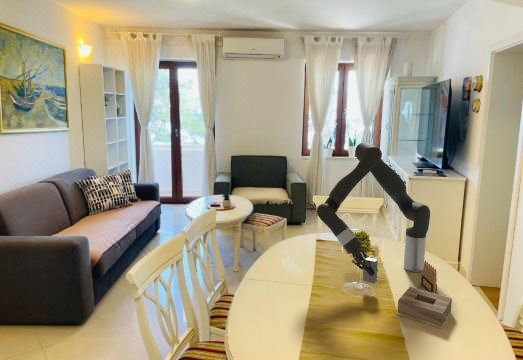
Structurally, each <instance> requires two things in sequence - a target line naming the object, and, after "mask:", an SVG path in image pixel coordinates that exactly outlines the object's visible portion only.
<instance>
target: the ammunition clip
mask: <svg viewBox="0 0 523 360" xmlns="http://www.w3.org/2000/svg"><path fill="white" fill-rule="evenodd" d="M437 274H438V273H437V268H435V266H433V265H432V264H430V263H429V262H428V261H427V260H425V259H424V267H423V271H422V274H421V279H420V280H421V281H420V286H421V287H422V288H423V289H424V290H425V291H428V292H431V293H435V294H437V291H438V284H437V279H438V278H437Z"/></svg>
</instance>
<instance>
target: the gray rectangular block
mask: <svg viewBox="0 0 523 360" xmlns="http://www.w3.org/2000/svg"><path fill="white" fill-rule="evenodd" d="M378 261H379V260H378V259H377V258H374V257H373V258H369V257H366V262H367V263H368V265H369V266H370V268H371V269H372V270H373V271H374V273H375V274H374V275H373V276H370V275H369V273H368V272H367V271H366V270H365V269H362V276H363V277H362V281H363V282H366V283H369V284H372V285H374V284H376V283H377V281H378V272H377V269H378ZM364 264H365V263H364Z"/></svg>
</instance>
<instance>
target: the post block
mask: <svg viewBox="0 0 523 360" xmlns="http://www.w3.org/2000/svg"><path fill="white" fill-rule="evenodd" d="M452 302H453V298H452V297H449V296H445V295H442V294H437V293H436V294H435V293H431V292H428V291H427V290H425V289H424V290H423V289H421V288H420V289H419V288H416V287H412V286H409V287H408V288H407V289H406V290H405V291H404V293H403V294H402V295H401V297H399V299H398V300H397V313H396V314H397V316H401V317H404V318H407V319H409V320H414V321H415V322H416V321H417V322H419V323H422V324H425V325H429V326H433V327H435V328H437V329H443V327H444V326H445V324H446V322H447V320H448V318H449V317H450V314H451V312H452V305H453V303H452Z"/></svg>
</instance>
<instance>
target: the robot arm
mask: <svg viewBox="0 0 523 360" xmlns="http://www.w3.org/2000/svg"><path fill="white" fill-rule="evenodd" d="M354 155H355V158H356V159H357V160H358V164H357V165H356V166H355V167H354V168H353V170H351V172H349V173H348V174H346V175H345V176H344V177H342V178H340V180H339V181H338V182H337V183H336V184H335V185H334V187H333V188H332V189H331V191H330V193H329V194H328V197H327V198H326V200H325V202H324V203H321V204H319V205H318V206H317V208H316V214H317V216H318V218H319V219H320V220H321V221H322V222H323V224H324V225H325V226H327V227H328V229H330V232H332V234H333V235H334V237H336V239H337V242H339V244H340V245H341V247H342V248H343V249H344V250H345V252H346V253H347V254H349V255H351V256H352V258H353V259H351V262H352V263H353V264H354V265H356V267H358V268H359V269H360V270H361V271H363V269H365V270H366V271H367V272H368V273H369V275H370V276H373V275H374V274H375V273H374V271H373V270H372V269H371V268H370V266H369V265H368V263H367V262H366V257H369V256H367V255H366V253H365V252H364V251H361V250H360V249H359V247H360V246H361V247H362V245H363V243H362V241H361V240H360V239H359V237H358V236H357V235H356V234H355V232H353V230H352V229H351V228H350V227H349V226H348V224H347V223H346V222H345V220H343V219H342V218H340V217H339V216H338V215H337V214H336V213H337V212H338V210H339V208H340V207H341V205H342V204H343V202H344V201H345V200H346V198H347V197H348V196H349V195H350V194H351V192H352V190H353V189H354V188H355V187H356V186H357V185H358V184H359V183H360V182H361V181H362V180H363V179H364V178H365V177H366V176H367V175H368V174H369V173H371V175H372V176H373V177H374V179H375V180H376V181H377V182H378V184H379V186H380V187H381V188H382V189H383V191H385V194H387V196H389V197H390V199H392V200H393V202H394V203H395V204H396V205H397V207H398V208H399V209H400V211H401V213H402V214H403V215H404V217H405V218H406V219H408V220H409V221H412V222H413V225H412V226H409V227H407V228H406V229H405V230H406V231H405V239H404V240H405V241H404V243H405V244H404V254H403V255H404V258H403V269H405V271H408V272H412V273H421V272H423V267H424V262H425V258H426V257H425V255H426V244H427V243H426V242H427V233H428V231H429V227H430V220H431V209H430V207H429V206H428V205H426V204H424V203H421V202H417V201H415V200H414V199H412V198H411V196H410V195H409V194H408V193H407V185H406V183H405V181H404V180H403V179H402V177H401V176H400V175H399V174H398V173H397V172H396V171H395V170H394V169H393V168H392V167H391V166H389V165H388V164H387V163H386V162H385V161H384V160H383V159H382V157H383V153H382V150H381V149H380V148H379V147H378V146H376V145H375V144H373V143H370V142H367V141H362V142H360V143H358V144H357V145H356V147H355V150H354ZM360 241H361V242H360ZM369 258H374V257H373V256H372V257H369ZM364 263H365V264H364ZM378 272H379V269H378V268H377V273H378Z"/></svg>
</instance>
